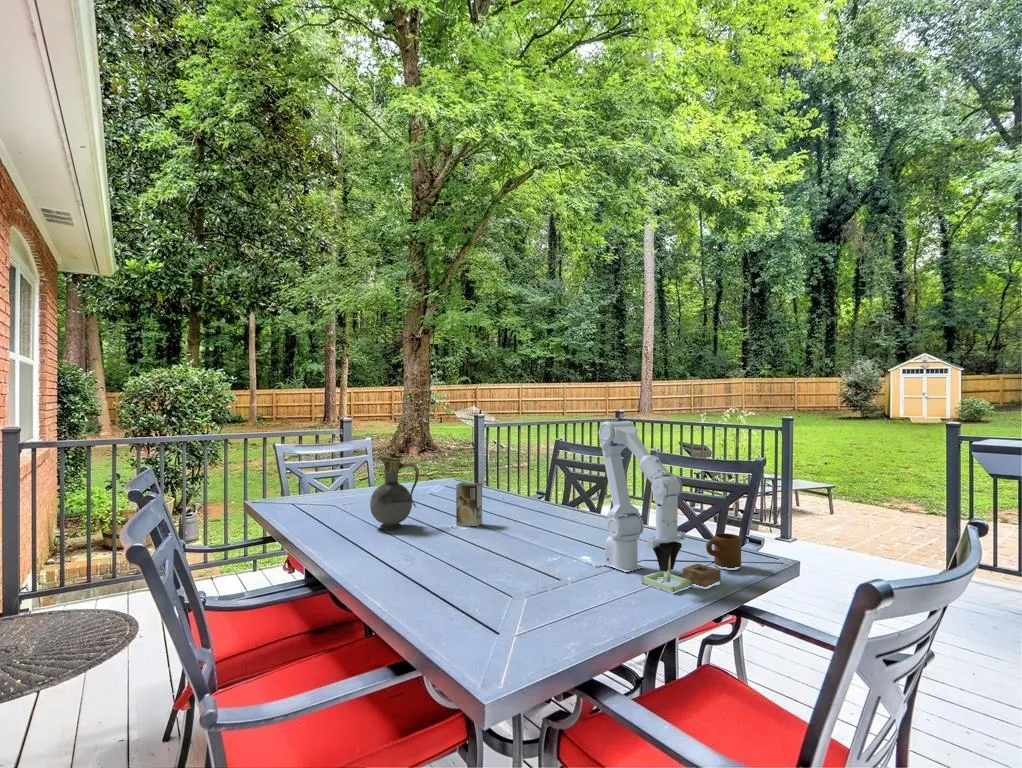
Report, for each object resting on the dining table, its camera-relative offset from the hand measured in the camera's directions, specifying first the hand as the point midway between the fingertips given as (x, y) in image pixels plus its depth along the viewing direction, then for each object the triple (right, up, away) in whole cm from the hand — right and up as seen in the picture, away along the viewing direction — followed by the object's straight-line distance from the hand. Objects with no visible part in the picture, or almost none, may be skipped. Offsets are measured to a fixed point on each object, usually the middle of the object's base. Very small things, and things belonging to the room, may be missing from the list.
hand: (666, 569), depth 155 cm
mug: (+21, -5, +15) cm, 26 cm away
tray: (0, -4, 0) cm, 4 cm away
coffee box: (-59, -5, +68) cm, 90 cm away
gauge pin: (0, -3, 0) cm, 3 cm away
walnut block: (+10, -4, +2) cm, 11 cm away
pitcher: (-87, -5, +64) cm, 108 cm away
